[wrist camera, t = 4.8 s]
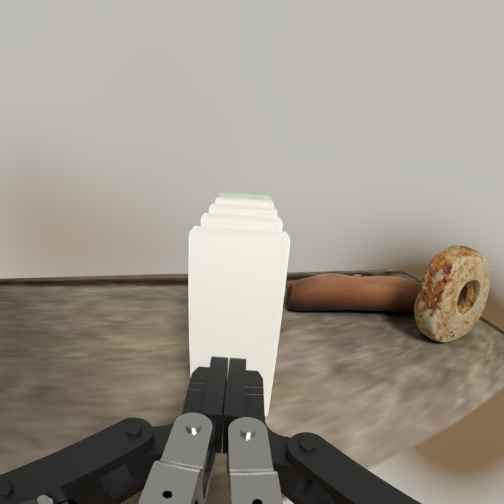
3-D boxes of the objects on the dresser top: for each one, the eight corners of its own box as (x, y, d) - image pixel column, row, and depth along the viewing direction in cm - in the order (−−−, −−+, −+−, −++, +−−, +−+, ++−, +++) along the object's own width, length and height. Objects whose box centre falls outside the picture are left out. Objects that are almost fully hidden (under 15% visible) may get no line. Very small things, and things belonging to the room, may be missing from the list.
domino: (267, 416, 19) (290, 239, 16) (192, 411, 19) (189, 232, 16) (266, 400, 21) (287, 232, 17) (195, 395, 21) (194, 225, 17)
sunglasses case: (404, 289, 42) (424, 258, 37) (415, 332, 38) (439, 303, 33) (281, 283, 42) (288, 248, 37) (281, 331, 37) (290, 299, 32)
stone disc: (421, 354, 27) (450, 254, 24) (400, 336, 30) (423, 242, 27) (480, 336, 29) (505, 254, 26) (460, 322, 33) (481, 244, 30)
